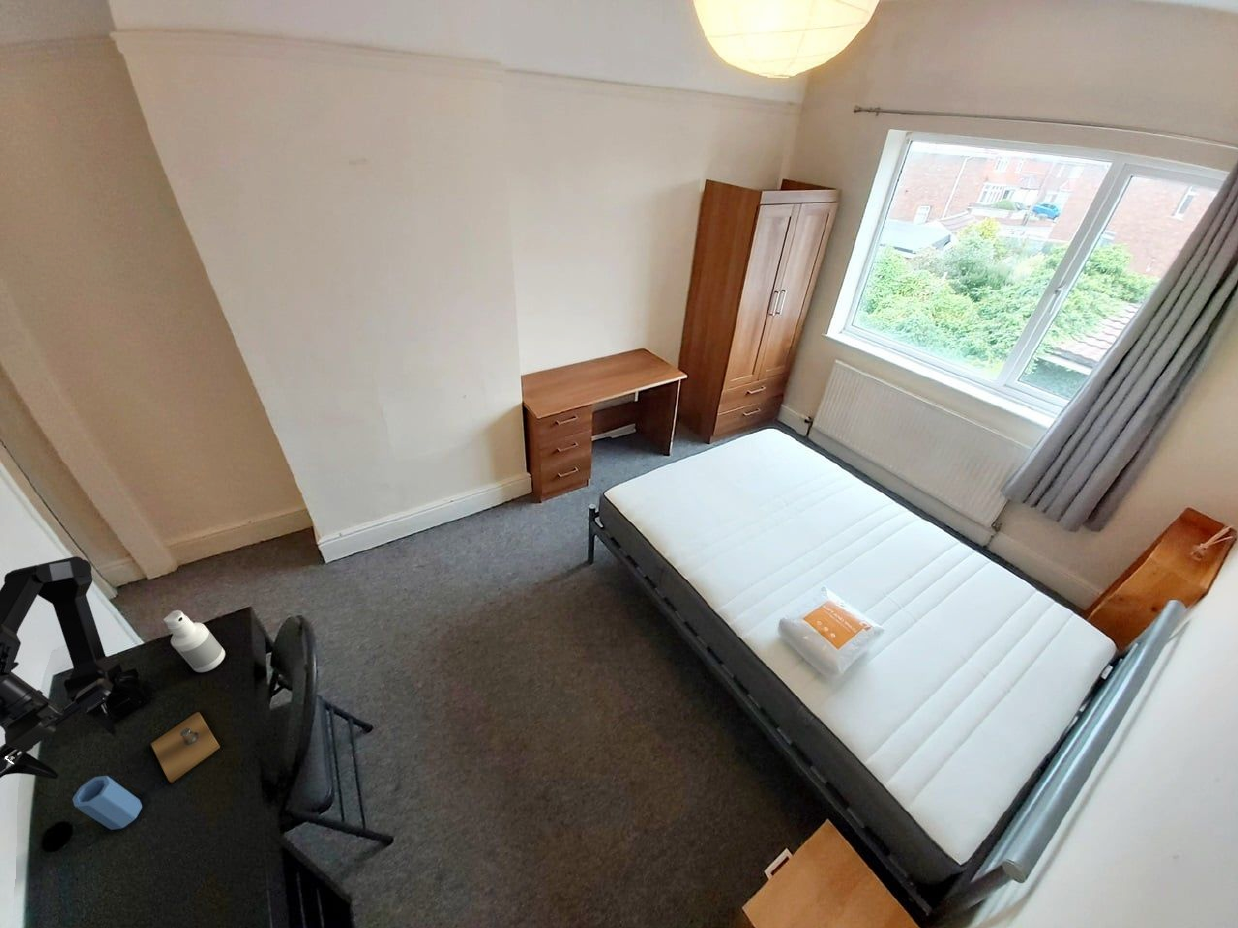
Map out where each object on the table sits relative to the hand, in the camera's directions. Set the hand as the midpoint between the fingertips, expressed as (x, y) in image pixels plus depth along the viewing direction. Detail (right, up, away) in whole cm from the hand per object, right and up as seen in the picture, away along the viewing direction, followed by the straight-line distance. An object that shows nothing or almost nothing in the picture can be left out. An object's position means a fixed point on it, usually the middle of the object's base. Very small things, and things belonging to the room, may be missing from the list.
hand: (86, 754), depth 94 cm
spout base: (+6, -7, +15) cm, 17 cm away
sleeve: (+3, -14, +4) cm, 15 cm away
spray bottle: (-3, +5, +32) cm, 32 cm away
